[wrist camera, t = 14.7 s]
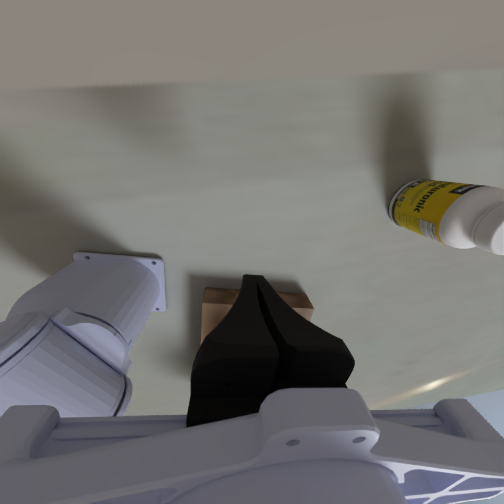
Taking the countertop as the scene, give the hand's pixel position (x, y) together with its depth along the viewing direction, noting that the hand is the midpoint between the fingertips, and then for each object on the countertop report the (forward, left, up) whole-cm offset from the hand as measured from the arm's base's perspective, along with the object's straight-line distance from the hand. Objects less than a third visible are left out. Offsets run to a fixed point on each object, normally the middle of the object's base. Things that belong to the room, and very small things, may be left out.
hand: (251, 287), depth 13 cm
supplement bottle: (+19, +6, -11) cm, 22 cm away
